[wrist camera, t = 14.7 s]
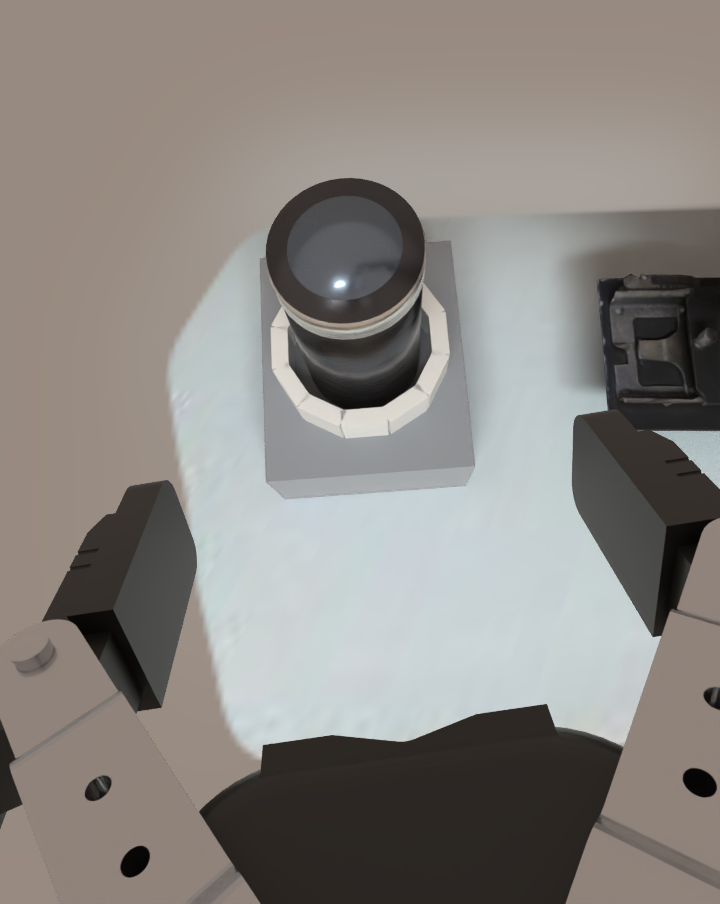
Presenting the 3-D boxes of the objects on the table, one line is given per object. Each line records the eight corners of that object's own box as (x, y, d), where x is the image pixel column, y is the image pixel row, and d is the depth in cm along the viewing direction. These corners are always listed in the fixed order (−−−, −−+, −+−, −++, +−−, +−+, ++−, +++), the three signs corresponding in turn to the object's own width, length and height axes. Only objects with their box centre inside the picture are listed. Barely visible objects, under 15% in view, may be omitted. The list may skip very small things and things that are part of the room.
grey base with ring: (444, 287, 37) (453, 217, 31) (465, 485, 34) (480, 456, 28) (278, 303, 38) (250, 236, 31) (285, 498, 35) (256, 473, 28)
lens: (415, 302, 32) (419, 168, 22) (424, 407, 30) (433, 314, 21) (305, 311, 32) (262, 184, 22) (310, 416, 31) (266, 328, 21)
